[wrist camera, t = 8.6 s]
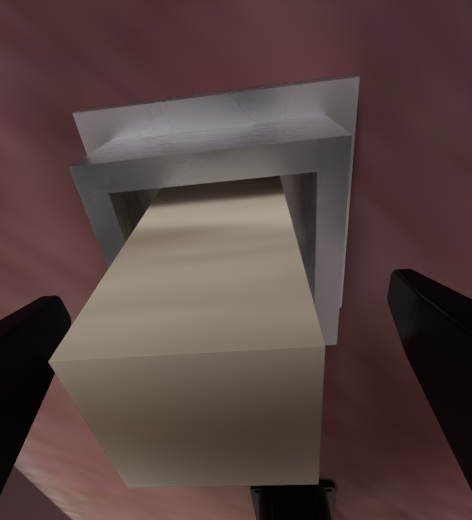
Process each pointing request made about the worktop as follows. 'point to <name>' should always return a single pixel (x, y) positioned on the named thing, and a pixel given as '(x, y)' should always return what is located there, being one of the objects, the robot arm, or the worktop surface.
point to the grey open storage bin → (231, 165)
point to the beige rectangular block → (203, 345)
